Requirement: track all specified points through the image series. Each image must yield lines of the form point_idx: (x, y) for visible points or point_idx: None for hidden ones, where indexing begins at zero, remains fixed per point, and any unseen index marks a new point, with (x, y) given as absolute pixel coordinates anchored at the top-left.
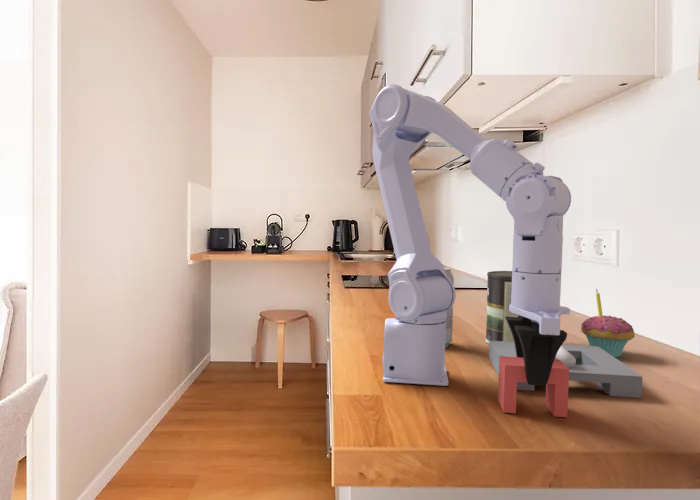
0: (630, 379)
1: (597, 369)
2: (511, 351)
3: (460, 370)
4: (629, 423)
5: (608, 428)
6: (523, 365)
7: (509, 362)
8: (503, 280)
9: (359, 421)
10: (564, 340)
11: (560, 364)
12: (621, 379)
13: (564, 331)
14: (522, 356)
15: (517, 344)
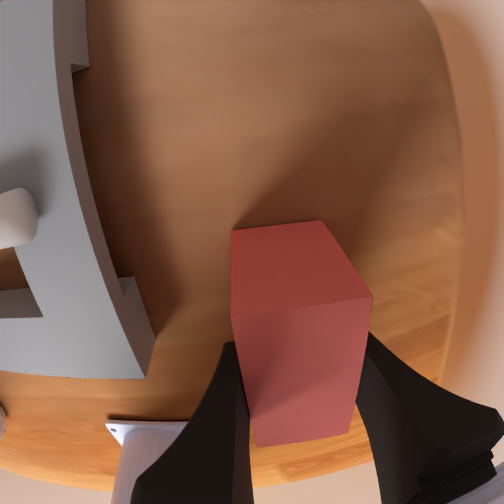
0: (58, 4)
1: (14, 106)
2: None
3: (86, 397)
4: (312, 59)
5: (362, 129)
6: (346, 406)
7: (322, 430)
8: None
9: (366, 453)
10: (490, 408)
11: (316, 320)
12: (61, 29)
13: (473, 442)
14: (247, 414)
15: (249, 458)
